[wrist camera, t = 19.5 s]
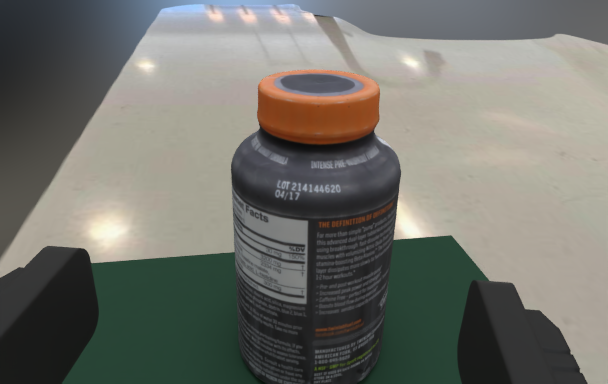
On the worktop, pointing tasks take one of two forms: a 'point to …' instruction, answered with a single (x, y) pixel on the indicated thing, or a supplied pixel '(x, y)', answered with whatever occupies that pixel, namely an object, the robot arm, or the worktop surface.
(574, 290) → the worktop surface
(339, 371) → the pill bottle
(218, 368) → the mat
